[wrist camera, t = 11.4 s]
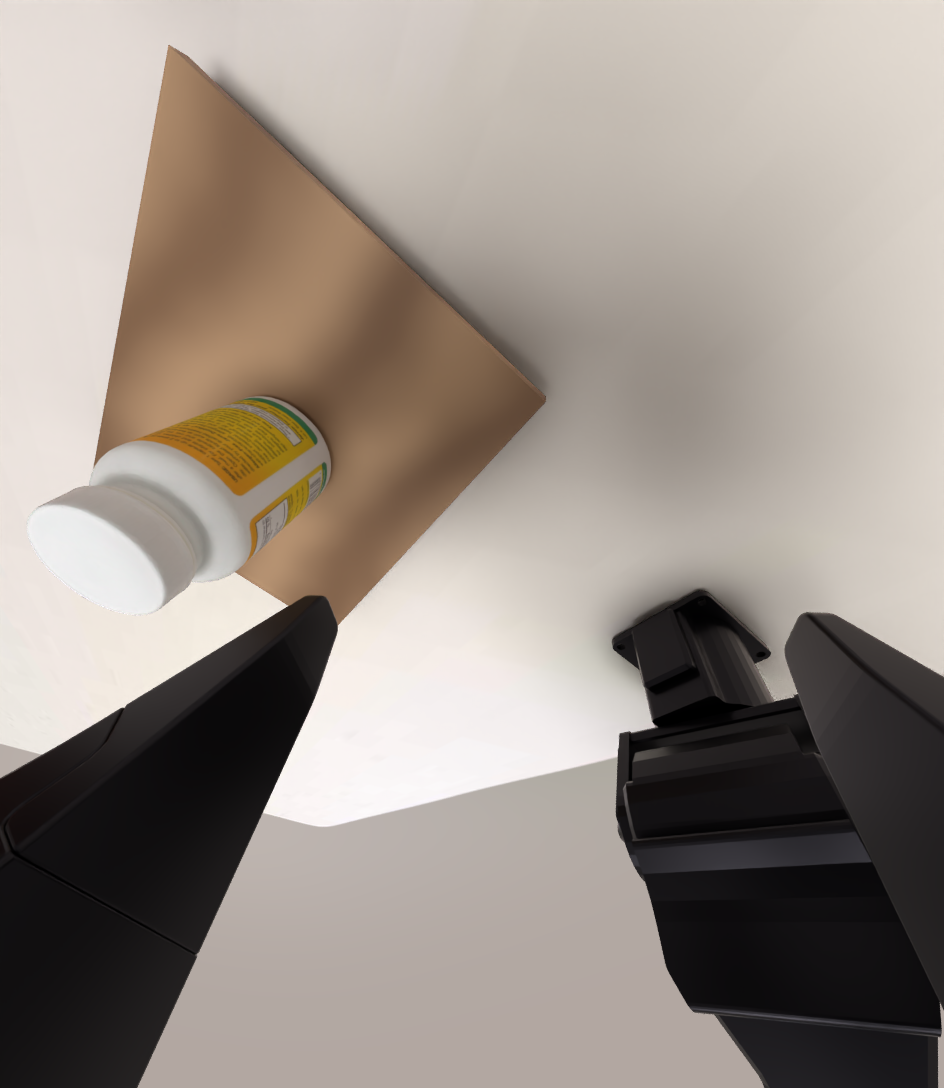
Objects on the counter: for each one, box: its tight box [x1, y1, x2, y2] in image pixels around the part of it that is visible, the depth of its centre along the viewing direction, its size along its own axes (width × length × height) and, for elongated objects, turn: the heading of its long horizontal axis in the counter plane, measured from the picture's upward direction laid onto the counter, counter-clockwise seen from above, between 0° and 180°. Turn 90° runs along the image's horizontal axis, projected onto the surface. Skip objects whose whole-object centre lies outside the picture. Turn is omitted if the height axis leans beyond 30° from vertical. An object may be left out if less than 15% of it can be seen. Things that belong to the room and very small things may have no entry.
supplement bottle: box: [27, 396, 331, 615], centre depth 15 cm, size 5×5×10 cm
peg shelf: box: [93, 45, 546, 625], centre depth 20 cm, size 16×20×2 cm
